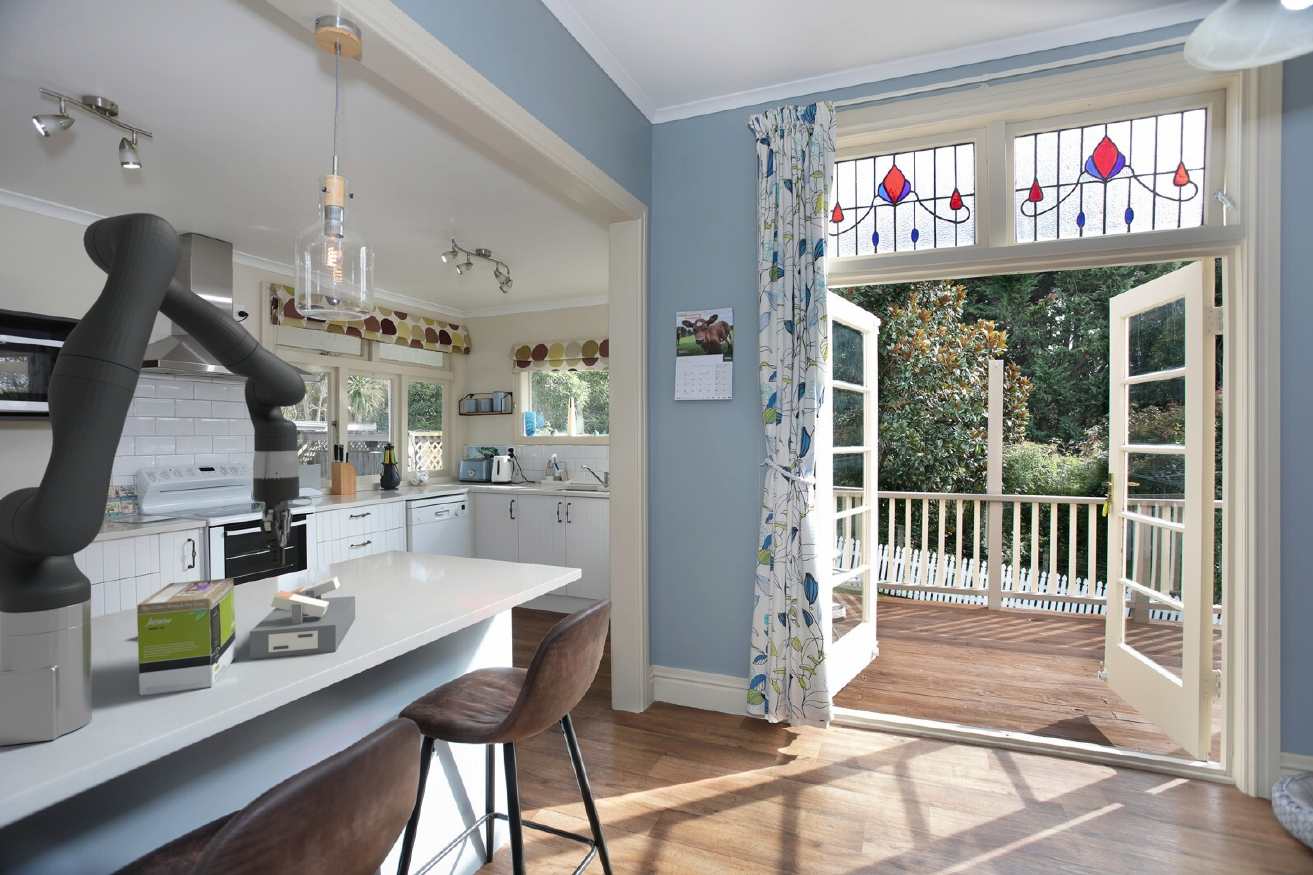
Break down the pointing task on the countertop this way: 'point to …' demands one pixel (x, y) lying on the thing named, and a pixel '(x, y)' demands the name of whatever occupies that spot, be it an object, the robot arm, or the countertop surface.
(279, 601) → the rocker near
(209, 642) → the tea box
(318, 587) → the rocker far
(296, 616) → the console
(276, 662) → the countertop surface
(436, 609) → the countertop surface
